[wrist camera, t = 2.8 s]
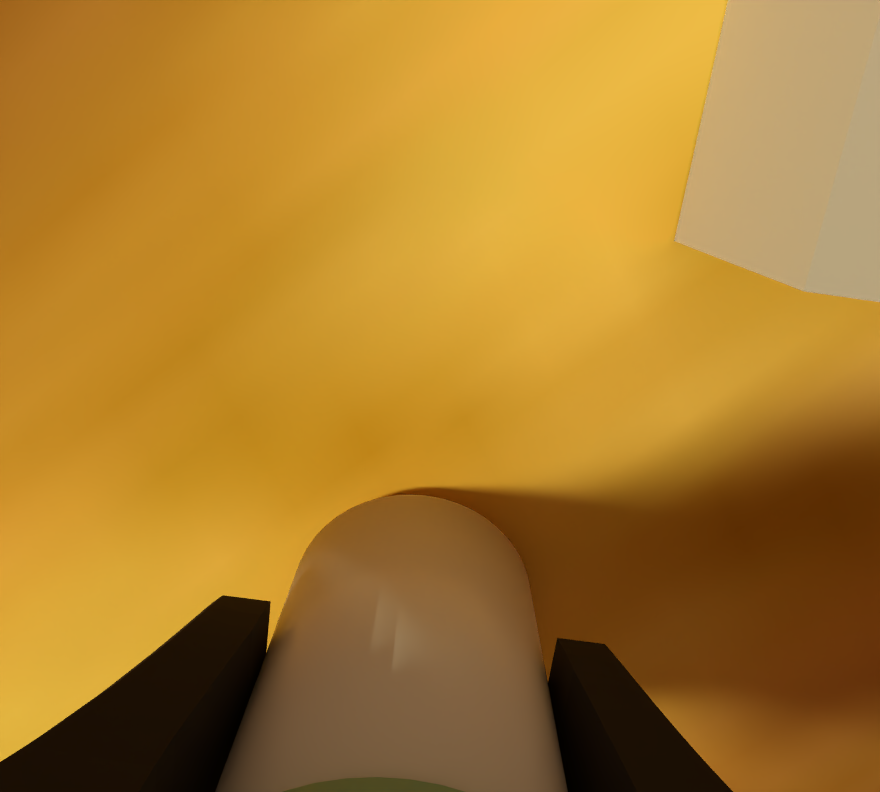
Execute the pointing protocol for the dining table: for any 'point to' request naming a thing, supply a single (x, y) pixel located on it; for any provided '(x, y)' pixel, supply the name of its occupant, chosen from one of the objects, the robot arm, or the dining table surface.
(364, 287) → the dining table surface
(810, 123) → the open square beige box
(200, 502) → the dining table surface
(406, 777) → the jar with green lid
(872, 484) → the dining table surface
